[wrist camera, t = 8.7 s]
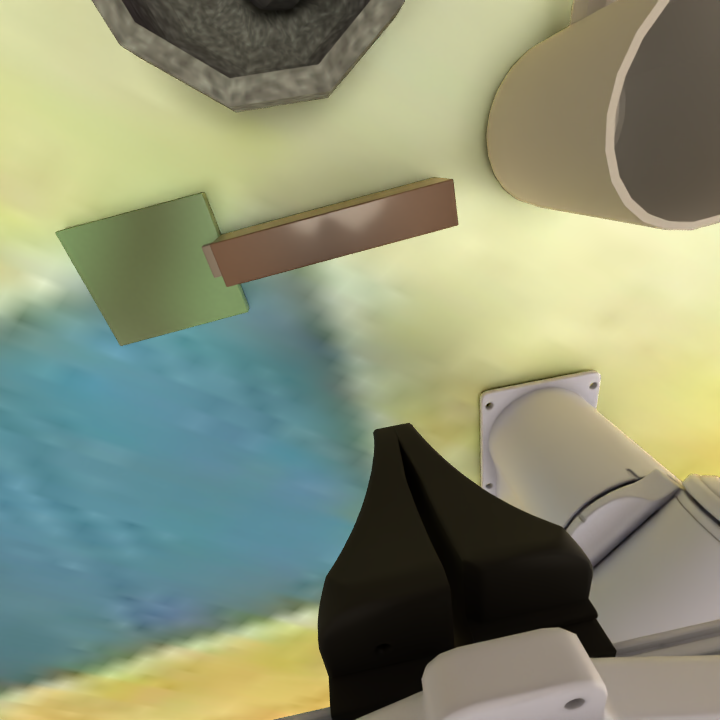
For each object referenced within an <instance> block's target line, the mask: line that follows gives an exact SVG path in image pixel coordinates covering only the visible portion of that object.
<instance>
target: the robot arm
mask: <svg viewBox="0 0 720 720" xmlns="http://www.w3.org/2000/svg"><path fill="white" fill-rule="evenodd" d="M600 381H601V375H600V373H598V372H597V371H595V370H590V371H585V372H580V373H575V374H570V375H565V376H560V377H554V378H549V379H544V380H539V381H534V382H529V383H524V384H518V385H513V386H508V387H503V388H498V389H493V390H488V391H485V392H483V393H482V394H481V396H480V449H481V487H480V486H478V485H477V484H475V483H474V482H473V481H471V480H470V479H468V478H467V477H466V476H464V475H463V474H462V473H460V472H459V471H458V470H457V469H456V468H454V467H453V466H452V465H451V464H450V463H448V462H447V461H446V460H445V459H444V458H443V457H442V456H441V455H440V454H439V453H438V452H436V451H435V450H434V449H433V448H432V447H431V446H430V445H429V444H428V443H427V442H426V441H425V439H424V438H423V437H422V436H421V435H420V434H419V433H418V432H417V430H416V429H415V428H414V427H413V425H411V424H410V423H406V424H401V425H396V426H391V427H385V428H380V429H376V430H375V431H374V432H373V435H374V458H373V465H372V471H371V476H370V480H369V484H368V488H367V492H366V495H365V499H364V502H363V505H362V508H361V511H360V513H359V516H358V518H357V521H356V523H355V525H354V528H353V530H352V532H351V534H350V536H349V538H348V540H347V542H346V544H345V546H344V548H343V550H342V552H341V554H340V555H339V557H338V559H337V560H336V562H335V563H334V565H333V567H332V568H331V570H330V571H329V573H328V575H327V576H326V579H325V583H324V587H323V591H322V596H321V601H320V606H319V614H318V642H319V650H320V653H321V656H322V659H323V661H324V664H325V667H326V670H327V673H328V676H329V690H330V707H328V708H324V709H319V710H315V711H310V712H306V713H302V714H297V715H293V716H288V717H284V718H279V719H275V720H720V477H717V476H707V475H702V476H700V475H698V474H690V475H689V476H688V477H687V478H686V479H685V480H684V481H683V482H682V481H680V480H679V479H678V478H677V477H676V476H674V475H673V474H672V473H671V472H670V471H668V470H667V469H666V468H665V467H664V466H662V465H661V464H660V463H659V462H658V461H657V460H655V459H654V458H653V457H652V456H651V455H649V454H648V453H647V452H646V451H645V450H644V449H642V448H641V447H640V446H639V445H638V444H636V443H635V442H634V441H633V440H632V439H630V438H629V437H628V436H627V435H626V434H625V433H623V432H622V431H621V430H620V429H619V428H617V427H616V426H615V425H614V424H613V423H612V422H610V421H609V420H608V419H607V418H606V417H604V416H603V415H602V414H601V413H600V412H598V411H597V410H596V407H597V401H598V394H599V387H600ZM591 383H593V384H592V385H591V386H590V384H591ZM488 403H491V404H490V405H489V406H486V405H487V404H488ZM489 483H490V484H489ZM487 484H488V485H487Z"/></svg>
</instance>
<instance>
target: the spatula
mask: <svg viewBox="0 0 720 720" xmlns="http://www.w3.org/2000/svg"><path fill="white" fill-rule="evenodd" d="M457 225H458V217H457V209H456V200H455V192H454V183H453V179H447V178H437V177H433V178H429V179H426V180H422V181H418V182H414V183H411V184H407V185H403V186H400V187H396V188H392V189H388V190H385V191H381V192H377V193H373V194H370V195H366V196H362V197H359V198H355V199H351V200H347V201H344V202H340V203H336V204H333V205H329V206H325V207H321V208H318V209H314V210H310V211H306V212H303V213H299V214H295V215H292V216H288V217H284V218H280V219H277V220H273V221H269V222H265V223H262V224H258V225H254V226H251V227H247V228H243V229H239V230H236V231H232V232H228V233H225V234H222V235H221V234H220V231H219V228H218V226H217V223H216V221H215V218H214V216H213V213H212V210H211V208H210V205H209V203H208V200H207V197H206V195H205V193H204V192H202V193H199V194H195V195H191V196H187V197H184V198H180V199H176V200H172V201H169V202H165V203H161V204H157V205H154V206H150V207H146V208H143V209H139V210H135V211H131V212H128V213H124V214H120V215H116V216H113V217H109V218H105V219H102V220H98V221H94V222H90V223H87V224H83V225H79V226H75V227H72V228H68V229H64V230H61V231H57V232H55V233H56V235H57V237H58V238H59V240H60V242H61V243H62V245H63V247H64V249H65V250H66V252H67V254H68V256H69V257H70V259H71V261H72V263H73V264H74V266H75V268H76V270H77V271H78V273H79V275H80V276H81V278H82V280H83V282H84V283H85V285H86V287H87V289H88V290H89V292H90V294H91V296H92V297H93V299H94V301H95V303H96V304H97V306H98V308H99V310H100V311H101V313H102V315H103V316H104V318H105V320H106V322H107V323H108V325H109V327H110V329H111V330H112V332H113V334H114V336H115V337H116V339H117V341H118V343H119V344H120V346H123V345H127V344H130V343H134V342H138V341H142V340H145V339H149V338H153V337H156V336H160V335H164V334H168V333H171V332H175V331H179V330H182V329H186V328H190V327H194V326H197V325H201V324H205V323H208V322H212V321H216V320H220V319H223V318H227V317H231V316H234V315H238V314H242V313H246V312H248V311H249V306H248V303H247V301H246V298H245V295H244V293H243V290H242V288H241V285H240V284H241V283H245V282H249V281H252V280H256V279H260V278H264V277H267V276H271V275H275V274H278V273H282V272H286V271H290V270H293V269H297V268H301V267H304V266H308V265H312V264H316V263H319V262H323V261H327V260H331V259H334V258H338V257H342V256H345V255H349V254H353V253H357V252H360V251H364V250H368V249H371V248H375V247H379V246H383V245H386V244H390V243H394V242H397V241H401V240H405V239H409V238H412V237H416V236H420V235H423V234H427V233H431V232H435V231H438V230H442V229H446V228H449V227H453V226H457Z"/></svg>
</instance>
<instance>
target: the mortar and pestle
mask: <svg viewBox="0 0 720 720" xmlns="http://www.w3.org/2000/svg"><path fill="white" fill-rule="evenodd" d="M92 1H93V3H94V5H95V6H96V8H97V9H98V11H99V13H100V14H101V16H102V17H103V19H104V21H105V22H106V24H107V25H108V27H109V28H110V30H111V32H112V33H113V35H114V36H115V38H116V40H117V41H118V43H119V44H120V45H121V46H122V47H124V48H125V49H127V50H128V51H130V52H132V53H133V54H135V55H136V56H138V57H139V58H141V59H143V60H145V61H147V62H148V63H150V64H152V65H154V66H155V67H157V68H159V69H161V70H162V71H164V72H166V73H168V74H169V75H171V76H173V77H175V78H176V79H178V80H180V81H182V82H183V83H185V84H187V85H189V86H191V87H192V88H194V89H196V90H198V91H199V92H201V93H203V94H205V95H206V96H208V97H210V98H212V99H213V100H215V101H217V102H219V103H220V104H222V105H224V106H226V107H227V108H229V109H231V110H233V111H234V112H241V111H247V110H253V109H260V108H266V107H272V106H278V105H285V104H291V103H297V102H303V101H310V100H316V99H322V98H328V97H329V96H330V94H331V93H332V92H333V91H334V90H335V89H336V87H337V86H338V85H339V84H340V83H341V81H342V80H343V79H344V78H345V77H346V75H347V74H348V73H349V72H350V71H351V69H352V68H353V67H354V66H355V65H356V64H357V62H358V61H359V60H360V59H361V58H362V56H363V55H364V54H365V53H366V52H367V50H368V49H369V48H370V47H371V46H372V44H373V43H374V42H375V41H376V40H377V38H378V37H379V36H380V35H381V34H382V33H383V31H384V30H385V29H386V28H387V27H388V25H389V24H390V23H391V22H392V21H393V19H394V18H395V17H396V15H397V14H398V12H399V10H400V9H401V7H402V5H403V4H404V2H405V0H92Z"/></svg>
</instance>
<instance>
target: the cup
mask: <svg viewBox="0 0 720 720" xmlns="http://www.w3.org/2000/svg"><path fill="white" fill-rule="evenodd" d="M486 137H487V150H488V158H489V161H490V164H491V167H492V170H493V173H494V175H495V177H496V178H497V179H498V181H499V182H500V184H501V185H502V187H503V188H504V189H505V190H506V191H507V192H508V193H510V194H511V195H512V196H514V197H515V198H516V199H517V200H520V201H523V202H526V203H529V204H532V205H535V206H538V207H542V208H547V209H553V210H558V211H564V212H569V213H575V214H581V215H586V216H592V217H597V218H603V219H608V220H614V221H619V222H625V223H631V224H636V225H642V226H647V227H653V228H658V229H664V230H694V229H698V228H701V227H705V226H709V225H712V224H716V223H719V222H720V0H573V4H572V9H571V16H570V23H569V26H568V27H566V28H564V29H563V30H561V31H559V32H557V33H556V34H554V35H552V36H551V37H549V38H547V39H545V40H544V41H542V42H540V43H538V44H537V45H535V46H534V47H532V48H531V49H529V50H528V51H527V52H526V53H525V54H524V55H523V56H522V57H521V58H520V59H519V60H518V61H517V62H516V63H515V64H514V65H513V66H512V67H511V69H510V70H509V72H508V74H507V75H506V77H505V78H504V80H503V82H502V83H501V85H500V86H499V88H498V90H497V93H496V96H495V98H494V101H493V104H492V107H491V109H490V113H489V119H488V126H487V133H486Z"/></svg>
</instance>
